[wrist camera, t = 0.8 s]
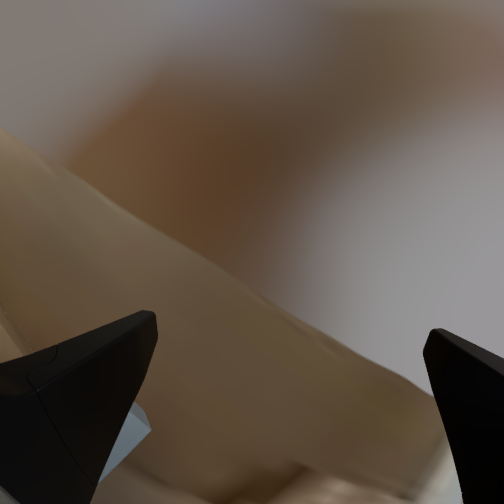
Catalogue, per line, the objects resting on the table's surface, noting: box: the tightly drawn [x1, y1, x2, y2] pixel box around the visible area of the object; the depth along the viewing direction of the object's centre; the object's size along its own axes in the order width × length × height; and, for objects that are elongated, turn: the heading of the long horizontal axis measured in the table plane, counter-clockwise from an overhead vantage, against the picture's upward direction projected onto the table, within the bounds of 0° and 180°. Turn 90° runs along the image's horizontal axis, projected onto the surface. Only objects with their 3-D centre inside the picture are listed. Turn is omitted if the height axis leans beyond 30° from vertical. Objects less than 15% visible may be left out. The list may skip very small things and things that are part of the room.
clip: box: [98, 402, 151, 483], centre depth 12 cm, size 4×4×7 cm
